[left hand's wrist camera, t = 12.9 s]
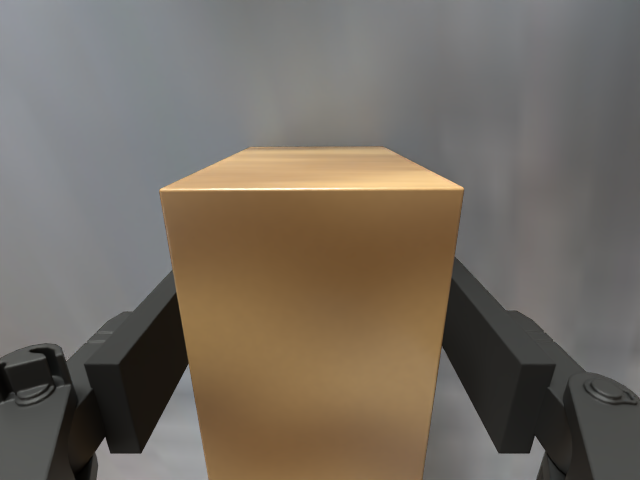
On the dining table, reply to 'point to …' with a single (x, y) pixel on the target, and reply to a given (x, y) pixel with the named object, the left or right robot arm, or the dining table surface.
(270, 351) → the post
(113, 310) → the dining table surface
